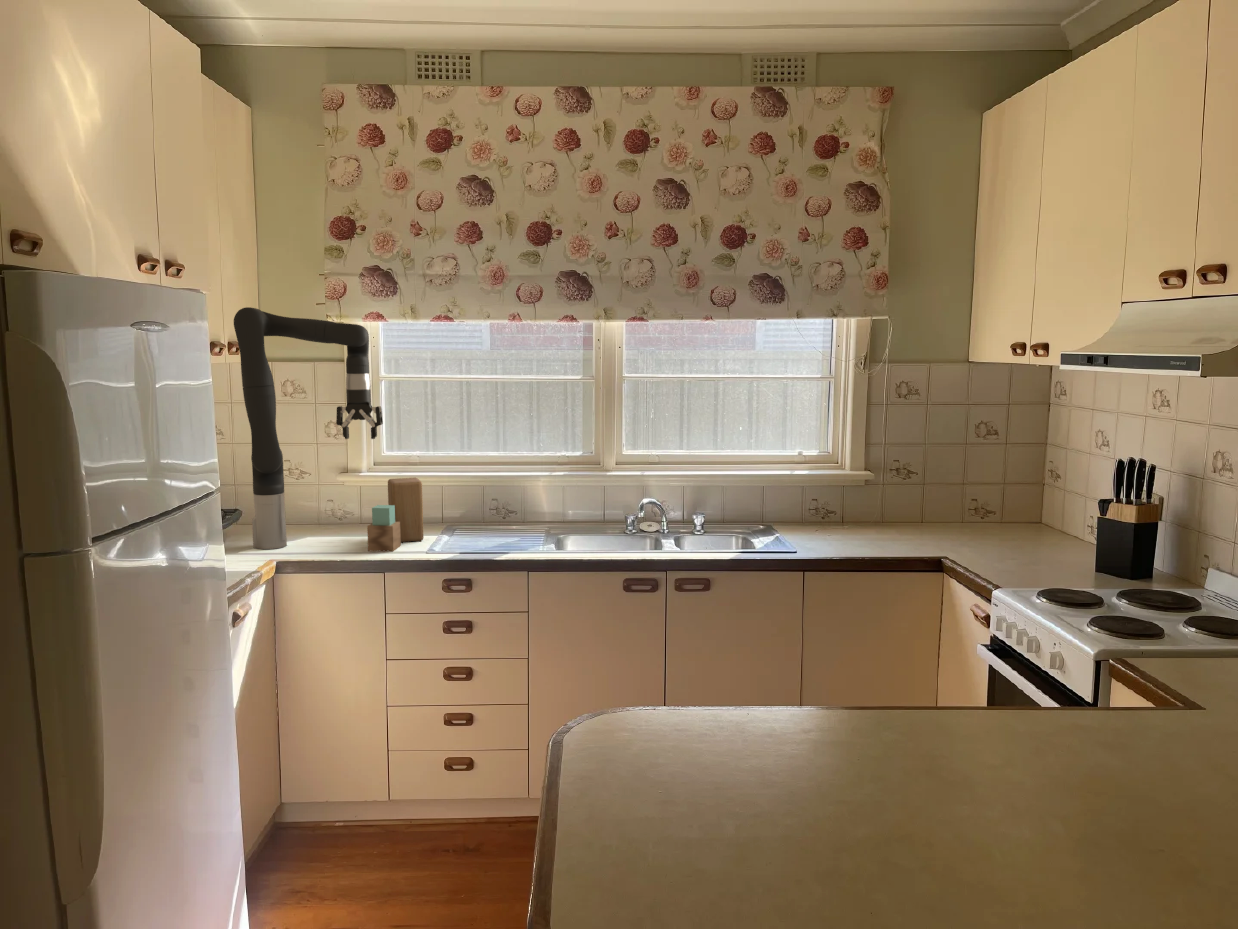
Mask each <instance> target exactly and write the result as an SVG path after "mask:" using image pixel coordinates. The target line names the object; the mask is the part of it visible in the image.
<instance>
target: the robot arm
mask: <svg viewBox="0 0 1238 929" xmlns="http://www.w3.org/2000/svg"><path fill="white" fill-rule="evenodd" d="M233 327H234V332H235V337H236V340H237V345H238V349H239V356H240V370H241V371H240V374H241V383H242V384H241V385H242V393H243V394H242V395H243V400H244V406H245V407H244V408H245V412H246V415H247V418H248V419H247V420H248V423H249V426H250V433H251V435H250V436H251V456H250V457H251V465H252V466H251V469H252V494H253V510H254V512H253V514H254V517H252V518H251V525H252V544H253V545H252V546H253V549H260V550H272V549H273V550H274V549H281V548H284V547H286V546H288V545H287V543H288V542H287V540H288V538H287V523H286V522H287V521H286V503H285V502H286V500H285V477H284V476H285V475H284V474H285V473H284V456H283V455H284V454H283V452H282V449H281V447H280V441H279V439H278V433H277V426H276V425H277V424H276V423H277V422H276V421H277V400H276V399H277V398H276V389H275V381H274V377H273V376H274V375H273V373H272V369H271V367H270V364H269V361H268V359H267V354H266V347H265V337H283V338H291V339H296V340H300V341H308V342H313V343H321V344H335V345H341V346H346V352H347V355H346V358H345V369H346V371H345V372H346V374H345V375H346V376H345V391H346V392H345V395H346V396H345V397H346V399H345V400H346V406H342V405H339V406H337V407H336V417H335V418H336V425H337V426H341V427H342V437H343V438H344V439H345V440H348V439H350V427H349V425H350V424H351V422H352V421H353V420H354V421H357V420H360V421H366V422H367V423H368V424H369V425H370V439H371V440H376V438H377V436H378V427H379V426H382V425H383V424H384V421H383V411H382V410H383V409H382V406H380V405H379V406H373V405H372V394H371V393H372V392H371V390H372V388H371V387H372V385H371V376H370V362H369V361H370V360H369V350H370V348H369V347H370V346H369V345H370V336H369V335H370V334H369V332H368V330H367V329H366V327H365V326H363V325H361V324H356V323H344V322H342V323H341V322H334V321H330V320H323V319H316V318H303V317H301V318H300V317H290V316H289V317H288V316H281V315H278V314H273V313H269V312H266V311H263V310H261V309H259V308H256V307H252V306H251V307H247V306H246V307H242V308H240V309H239V310H238V311H236V313H235V315H234V317H233ZM345 411H346V413H347V414H348V415H347V417H346V418H345V420H344V413H345ZM372 412H373V413H374V414H375V418H376V420H375V419H374V417H373V416H372V415H371V413H372ZM343 420H344V421H343Z"/></svg>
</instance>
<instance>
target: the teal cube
mask: <svg viewBox="0 0 1238 929" xmlns="http://www.w3.org/2000/svg"><path fill="white" fill-rule="evenodd" d="M371 519H372V520H371V524H372V525H384V526H390V525H392V524H393V523H395V505H388V504H377V505H375V506H373V507H371Z"/></svg>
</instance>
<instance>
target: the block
mask: <svg viewBox="0 0 1238 929" xmlns="http://www.w3.org/2000/svg"><path fill="white" fill-rule="evenodd" d="M387 499H388V500H387V505H395V522H400V537H401V543H411V541H413V542H421V541H423V540H424V537H425V536H424V511H423V510H424V507H423V506H424V504H423V503H424V502H423V482H422V481H421V480H420V479H419V478H417V477H400V478H398V477H397V478H389V479H388V480H387Z"/></svg>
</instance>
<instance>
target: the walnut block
mask: <svg viewBox="0 0 1238 929" xmlns="http://www.w3.org/2000/svg"><path fill="white" fill-rule="evenodd" d="M366 528H367V551H368V552H395V551H396V550H398V549H399V548H400V547H401V546H402V544H401V543H402V542H401V537H400V522H395V523H393V524H392V525H390V526H384V525H372V523H371V524H368V525H367V526H366Z"/></svg>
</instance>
